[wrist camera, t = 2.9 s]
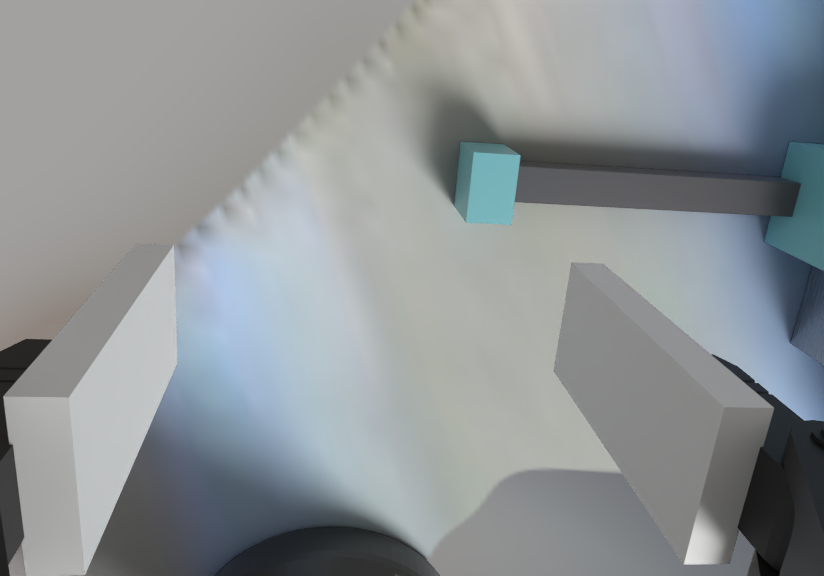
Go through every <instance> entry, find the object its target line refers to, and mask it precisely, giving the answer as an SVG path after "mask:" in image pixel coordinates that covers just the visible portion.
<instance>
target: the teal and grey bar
mask: <svg viewBox="0 0 824 576" xmlns="http://www.w3.org/2000/svg"><path fill="white" fill-rule="evenodd" d="M520 156H521V155H519V154H518V153H516V152H515V151H513V150H512V149H510V148H509V147H507V146H505V145H504V144H492V143H476V142H461V144H460V154H459V163H458V173H457V183H456V193H455V202H454V207H455V208H456V209H457V211H458V212H459V213H460V215H461V216H462V218H463V219H464V220H465V222H466V223H486V224H506V225H512V217H513V209H514V202H524V203H543V204H561V205H580V206H598V207H617V208H635V209H654V210H672V211H691V212H709V213H728V214H746V215H765V216H770V220H769V224H768V228H767V232H766V236H765V240H764V242H765V243H767V244H769V245H771V246H773V247H775V248H778V249H780V250H782V251H784V252H786V253H788V254H790V255H792V256H794V257H796V258H798V259H800V260H802V261H804V262H806V263H808V264H811V265H813V266H815V267H817V268H819V269H821V270H823V271H824V144H813V143H799V142H789V146H788V150H787V154H786V158H785V162H784V166H783V170H782V174H781V177H773V176H757V175H741V174H725V173H709V172H693V171H677V170H661V169H645V168H629V167H613V166H597V165H581V164H565V163H549V162H533V161H520Z"/></svg>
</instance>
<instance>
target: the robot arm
mask: <svg viewBox="0 0 824 576" xmlns="http://www.w3.org/2000/svg"><path fill="white" fill-rule="evenodd" d="M177 363H178V362H177V332H176V301H175V270H174V245H157V244H135V246H133V248H132V249H131V250H130V251H129V252H128V253H127V255H126V256H125V257H124V258H123V259H122V260H121V261H120V263H119V264H118V265H117V266H116V267H115V268H114V270H113V271H112V272H111V273H110V274H109V275H108V277H107V278H106V279H105V280H104V281H103V282H102V284H101V285H100V286H99V287H98V288H97V289H96V290H95V291H94V293H93V294H92V295H91V296H90V297H89V299H87V301H86V302H85V303H84V304H83V305H82V306H81V307H80V309H79V310H78V311H77V312H76V313H75V314H74V316H73V317H72V318H71V319H70V320H69V321H68V323H67V324H66V325H65V326H64V327H63V328H62V330H61V331H60V332H59V333H58V334H57V335H56V336H55V337H54V339H53V340H42V339H41V340H39V339H25V340H23V341H21V342H19V343H17V344H15V345H13V346H11V347H9V348H7V349H5V350H2V351H0V576H10V574H9V567H8V565H9V563H10V561H11V559H12V558H13V556H14V554H15V553H16V551H17V549H18V548H19V546H20V544H21V542H22V550H23V558H24V566H25V574H26V576H67V575H85V574H86V572H87V569H88V567H89V565H90V563H91V560H92V558H93V556H94V553H95V551H96V549H97V547H98V544H99V542H100V540H101V537H102V535H103V533H104V530H105V528H106V526H107V524H108V521H109V519H110V517H111V514H112V512H113V510H114V507H115V505H116V503H117V501H118V498H119V496H120V494H121V491H122V489H123V487H124V484H125V482H126V480H127V478H128V475H129V473H130V471H131V468H132V466H133V464H134V462H135V459H136V457H137V455H138V452H139V450H140V448H141V445H142V443H143V441H144V439H145V436H146V434H147V432H148V429H149V427H150V425H151V422H152V420H153V418H154V416H155V413H156V411H157V409H158V406H159V404H160V402H161V399H162V397H163V395H164V393H165V390H166V388H167V386H168V383H169V381H170V379H171V376H172V374H173V372H174V370H175V367H176V365H177ZM554 372H555V374H556V375H557V376H558V378H559V379H560V381H561V382H562V384H563V385H564V387H565V388H566V390H567V391H568V393H569V394H570V396H571V397H572V399H573V400H574V402H575V403H576V405H577V406H578V408H579V409H580V411H581V412H582V414H583V415H584V417H585V418H586V420H587V421H588V423H589V424H590V426H591V427H592V429H593V430H594V432H595V433H596V435H597V436H598V438H599V439H600V441H601V442H602V443H603V445H604V446H605V448H606V449H607V451H608V452H609V454H610V455H611V457H612V458H613V460H614V461H615V463H616V464H617V466H618V467H619V469H620V470H621V472H622V473H623V475H624V476H625V478H626V479H627V481H628V482H629V484H630V485H631V487H632V488H633V490H634V491H635V493H636V494H637V496H638V497H639V499H640V500H641V502H642V503H643V504H644V506H645V507H646V509H647V510H648V512H649V513H650V515H651V516H652V518H653V519H654V521H655V522H656V524H657V525H658V527H659V528H660V530H661V531H662V533H663V534H664V536H665V537H666V539H667V540H668V542H669V543H670V545H671V546H672V548H673V549H674V551H675V552H676V554H677V555H678V557H679V558H680V560H681V561H682V562H683V564H729V563H730V561H731V557H732V554H733V550H734V547H735V543H736V540H737V536H738V533H739V530H740V531H741V532H742V534H743V535H744V536H745V537H746V538H747V540H748V541H749V542H750V543H751V545H752V546H753V547H754V548H755V551H754V554H753V557H752V561H751V564H750V567H749V571H748V574H747V576H824V422H823V421H815V420H810V421H804V420H803V419H801V418H800V417H799V416H798V415H796V414H795V413H794V412H793V411H792V410H790V409H789V408H788V407H787V406H785V405H784V404H783V403H782V402H781V401H779V400H778V399H777V398H776V397H774V396H773V395H769V394H768V391H767V390H766V389H765V388H763V387H762V386H761V385H760V384H758V383H755V380H754V379H752V378H751V377H750V376H749V375H747V374H746V373H745V372H744V371H743V370H741V369H740V368H739V367H738V366H735V365H733V364H731V363H729V362H727V361H725V360H723V359H721V358H719V357H717V356H715V355H713V354H710V353H708V352H707V351H706V350H705V349H704V348H703V347H701V346H700V345H699V344H698V343H697V342H695V341H694V340H693V339H692V338H691V337H690V336H688V335H687V334H686V333H685V332H684V331H682V330H681V329H680V328H679V327H678V326H676V325H675V324H674V323H673V322H672V321H671V320H669V319H668V318H667V317H666V316H665V315H663V314H662V313H661V312H660V311H659V310H657V309H656V308H655V307H654V306H653V305H652V304H650V303H649V302H648V301H647V300H646V299H644V298H643V297H642V296H641V295H640V294H638V293H637V292H636V291H635V290H634V289H633V288H631V287H630V286H629V285H628V284H627V283H625V282H624V281H623V280H622V279H621V278H620V277H618V276H617V275H616V274H615V273H614V272H612V271H611V270H610V269H609V268H608V267H606V266H605V265H604V264H594V263H571V269H570V275H569V281H568V287H567V293H566V299H565V305H564V311H563V317H562V324H561V330H560V336H559V342H558V348H557V354H556V360H555V366H554ZM215 576H440V575H439V574H438V573H437V571H436V570H435V569H434V567H432V565H431V564H430V563H429V562H428V561H427V560H426V559H424V558H423V557H422V556H421V555H420V554H418V553H417V552H416V551H414V550H413V549H411V548H409V547H408V546H406V545H404V544H402V543H400V542H399V541H396V540H394V539H392V538H389V537H387V536H384V535H381V534H378V533H374V532H370V531H366V530H361V529H354V528H343V527H321V528H311V529H304V530H298V531H294V532H290V533H286V534H283V535H279V536H276V537H274V538H271V539H268V540H266V541H264V542H261V543H259V544H257V545H255V546H253V547H251V548H249V549H248V550H246V551H244V552H243V553H241V554H240V555H238V556H237V557H235V558H234V559H233V560H231V561H230V562H229V563H228V564H227V565H225V566H224V567H223V568H222V569H221V570H220V571H219V572H218V573H217V574H216V575H215Z"/></svg>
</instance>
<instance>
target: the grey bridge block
mask: <svg viewBox="0 0 824 576" xmlns="http://www.w3.org/2000/svg"><path fill="white" fill-rule="evenodd" d="M791 344H792V345H794V346H795V347H797V348H798V349H800V350H801V351H803V352H804V353H806V354H807V355H809V356H810V357H812V358H813V359H815V360H816V361H818V362H819V363H821V364H822V365H823V366H824V271H823V270H821V269H819V268H817V267H815V266H812V269H811V273H810V276H809V280H808V283H807V287H806V290H805V294H804V297H803V301H802V304H801V308H800V311H799V315H798V318H797V322H796V326H795V329H794V333H793V336H792V340H791Z"/></svg>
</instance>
